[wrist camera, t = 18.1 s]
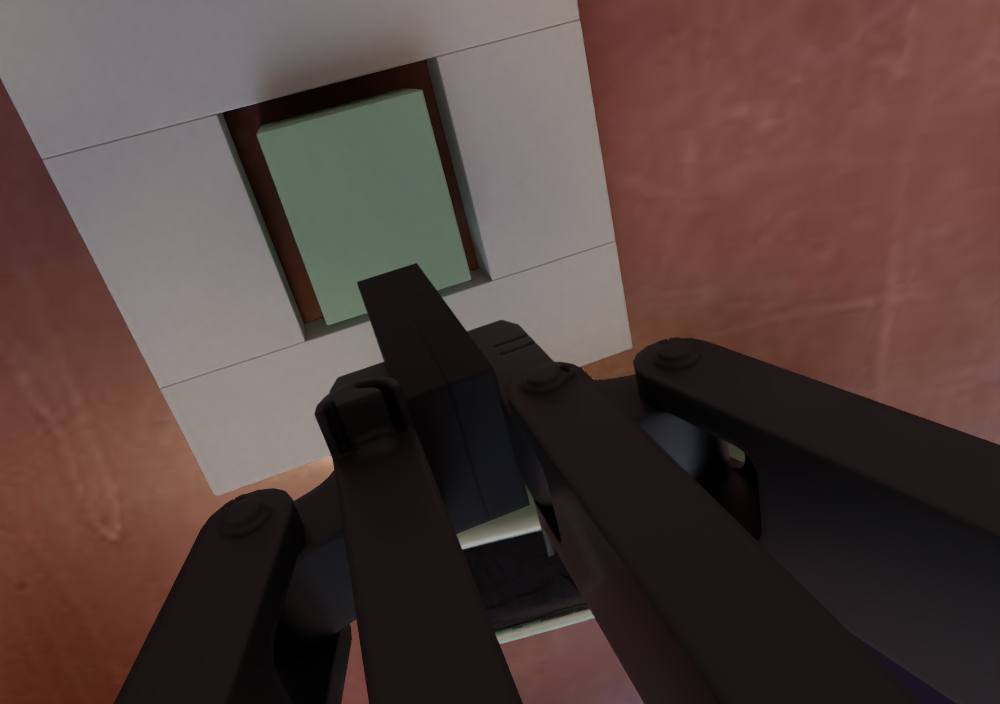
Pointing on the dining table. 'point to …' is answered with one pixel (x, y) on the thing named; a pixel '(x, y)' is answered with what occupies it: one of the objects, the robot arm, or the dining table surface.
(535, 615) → the planter
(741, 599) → the robot arm
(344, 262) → the green block
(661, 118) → the dining table surface
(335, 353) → the base pad
